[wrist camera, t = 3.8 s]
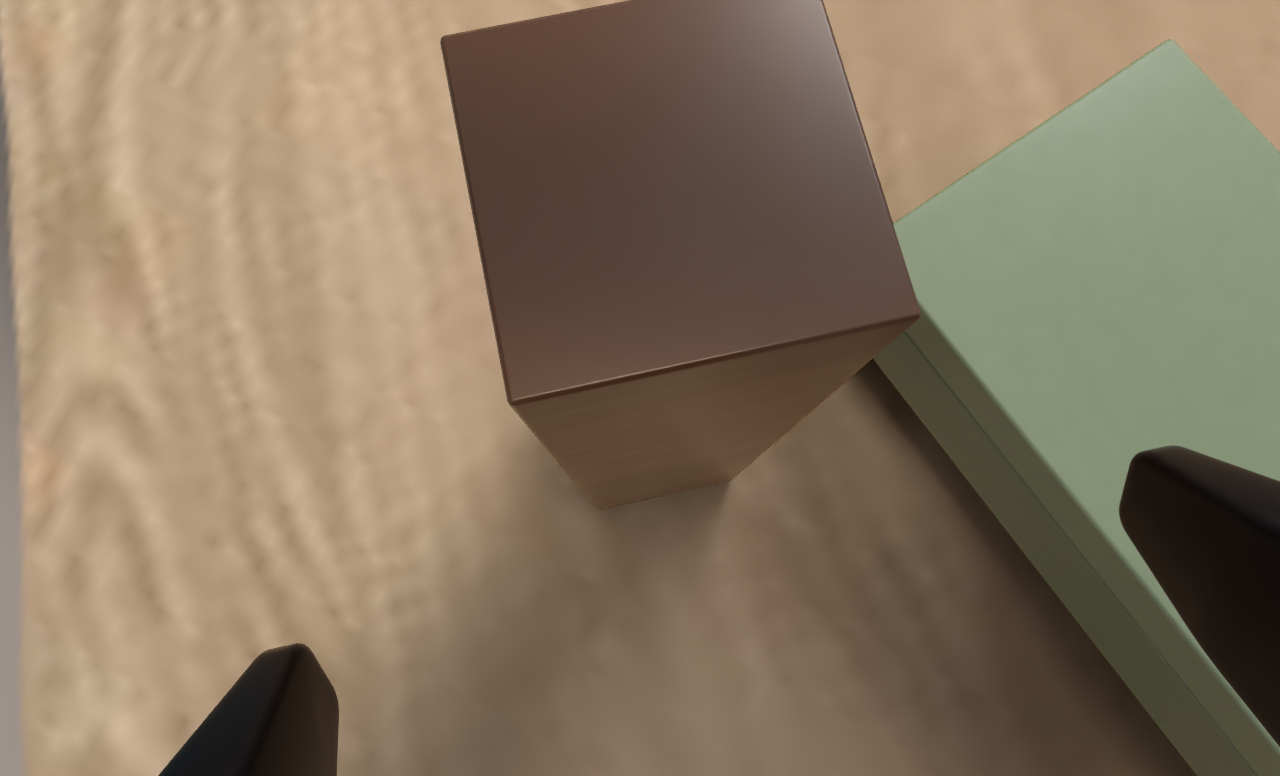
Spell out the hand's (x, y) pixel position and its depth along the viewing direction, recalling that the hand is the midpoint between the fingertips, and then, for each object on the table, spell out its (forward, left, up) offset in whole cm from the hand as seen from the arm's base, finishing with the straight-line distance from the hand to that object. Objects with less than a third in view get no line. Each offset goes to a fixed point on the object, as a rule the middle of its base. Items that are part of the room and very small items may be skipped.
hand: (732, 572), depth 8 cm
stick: (+1, +3, -10) cm, 11 cm away
